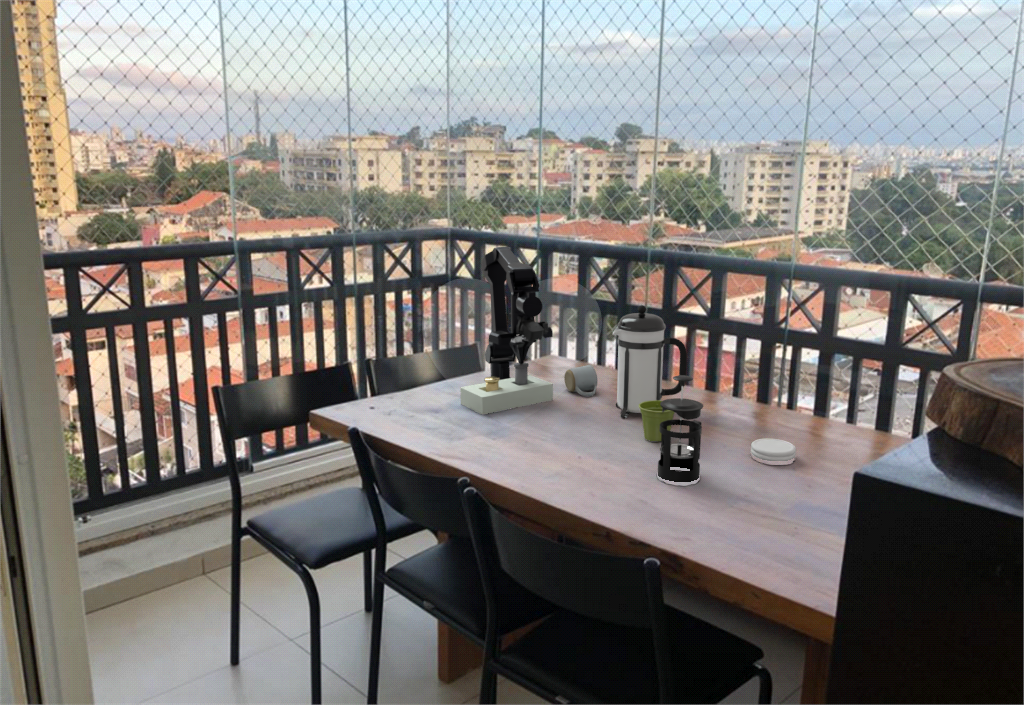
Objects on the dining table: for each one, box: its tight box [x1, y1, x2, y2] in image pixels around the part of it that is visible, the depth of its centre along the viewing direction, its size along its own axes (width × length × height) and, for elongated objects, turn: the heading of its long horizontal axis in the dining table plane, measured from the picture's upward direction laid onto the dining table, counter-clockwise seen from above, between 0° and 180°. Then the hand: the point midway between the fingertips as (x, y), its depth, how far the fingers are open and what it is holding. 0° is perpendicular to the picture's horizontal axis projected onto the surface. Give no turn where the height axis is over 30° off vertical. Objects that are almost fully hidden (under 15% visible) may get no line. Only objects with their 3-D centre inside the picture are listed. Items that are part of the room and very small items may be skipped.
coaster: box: [750, 437, 797, 461], centre depth 184 cm, size 10×10×4 cm
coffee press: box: [612, 304, 688, 419], centre depth 215 cm, size 17×16×30 cm
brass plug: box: [484, 376, 500, 392], centre depth 224 cm, size 4×4×8 cm
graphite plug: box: [513, 361, 529, 386], centre depth 229 cm, size 4×4×8 cm
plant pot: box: [639, 400, 676, 442], centre depth 196 cm, size 9×9×9 cm
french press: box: [657, 374, 704, 482], centre depth 171 cm, size 12×9×23 cm
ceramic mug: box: [563, 364, 598, 398], centre depth 237 cm, size 11×8×8 cm
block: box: [459, 374, 554, 415], centre depth 228 cm, size 12×24×5 cm, turn 123°
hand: (521, 363), depth 228 cm, fingers closed
